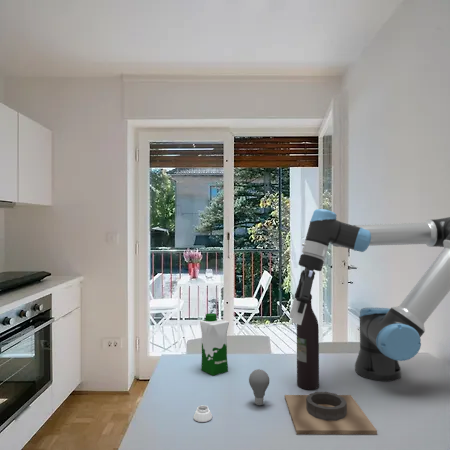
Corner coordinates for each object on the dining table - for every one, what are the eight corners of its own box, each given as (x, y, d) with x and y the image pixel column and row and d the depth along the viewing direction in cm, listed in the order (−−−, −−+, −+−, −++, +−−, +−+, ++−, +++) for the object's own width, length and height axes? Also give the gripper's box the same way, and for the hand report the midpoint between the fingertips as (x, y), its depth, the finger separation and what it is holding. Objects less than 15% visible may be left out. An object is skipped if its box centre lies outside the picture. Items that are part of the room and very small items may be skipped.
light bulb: (268, 410, 106) (268, 374, 106) (247, 408, 107) (247, 373, 107) (270, 400, 112) (270, 367, 112) (250, 398, 113) (250, 365, 113)
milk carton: (216, 364, 142) (216, 311, 142) (232, 371, 135) (231, 315, 135) (197, 370, 136) (197, 315, 137) (212, 377, 129) (212, 319, 129)
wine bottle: (298, 380, 127) (298, 291, 127) (320, 383, 124) (319, 292, 125) (295, 388, 120) (294, 295, 120) (318, 391, 118) (317, 296, 118)
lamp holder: (350, 398, 113) (350, 385, 113) (377, 434, 93) (376, 418, 93) (284, 398, 113) (284, 384, 113) (296, 434, 93) (296, 418, 93)
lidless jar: (215, 417, 102) (200, 412, 105) (215, 406, 102) (200, 402, 105) (205, 425, 98) (189, 420, 101) (205, 414, 98) (189, 409, 101)
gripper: (298, 255, 133) (281, 313, 131) (305, 250, 108) (285, 322, 106) (318, 261, 132) (302, 320, 130) (331, 258, 107) (311, 330, 105)
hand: (294, 321), depth 118 cm, fingers open, 13 cm apart
